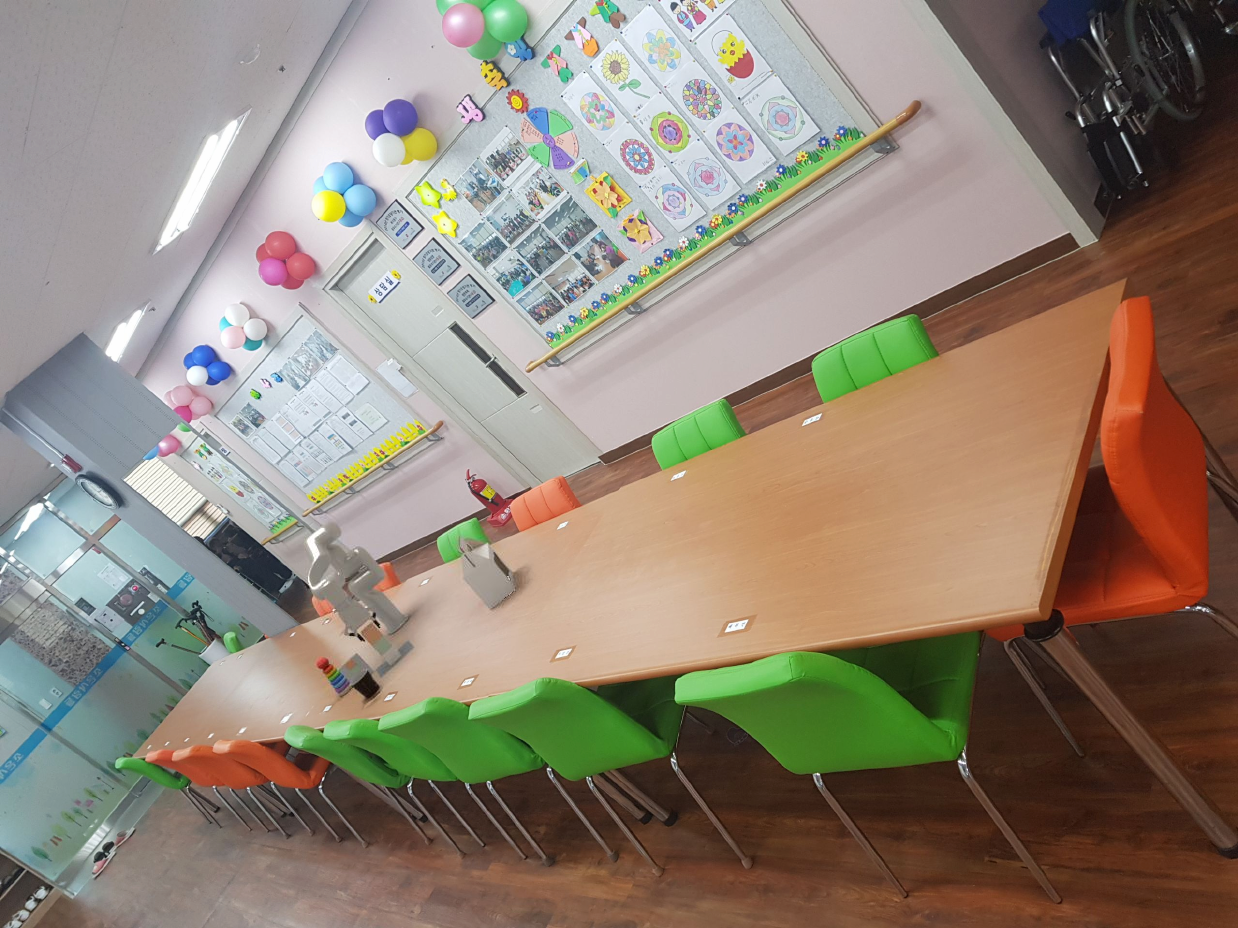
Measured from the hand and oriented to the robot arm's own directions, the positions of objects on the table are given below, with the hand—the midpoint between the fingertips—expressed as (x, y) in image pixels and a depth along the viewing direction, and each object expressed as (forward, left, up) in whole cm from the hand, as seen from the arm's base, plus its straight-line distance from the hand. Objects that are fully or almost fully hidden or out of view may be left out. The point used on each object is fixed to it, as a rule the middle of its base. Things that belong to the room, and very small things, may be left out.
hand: (371, 634), depth 348 cm
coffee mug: (+16, -15, -16) cm, 27 cm away
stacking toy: (-18, -24, -16) cm, 34 cm away
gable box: (+28, +50, -16) cm, 60 cm away
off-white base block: (0, 0, -15) cm, 15 cm away
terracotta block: (0, 0, -3) cm, 3 cm away
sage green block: (0, 0, -9) cm, 9 cm away
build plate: (0, 0, -16) cm, 16 cm away
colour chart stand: (-8, -15, -16) cm, 23 cm away
